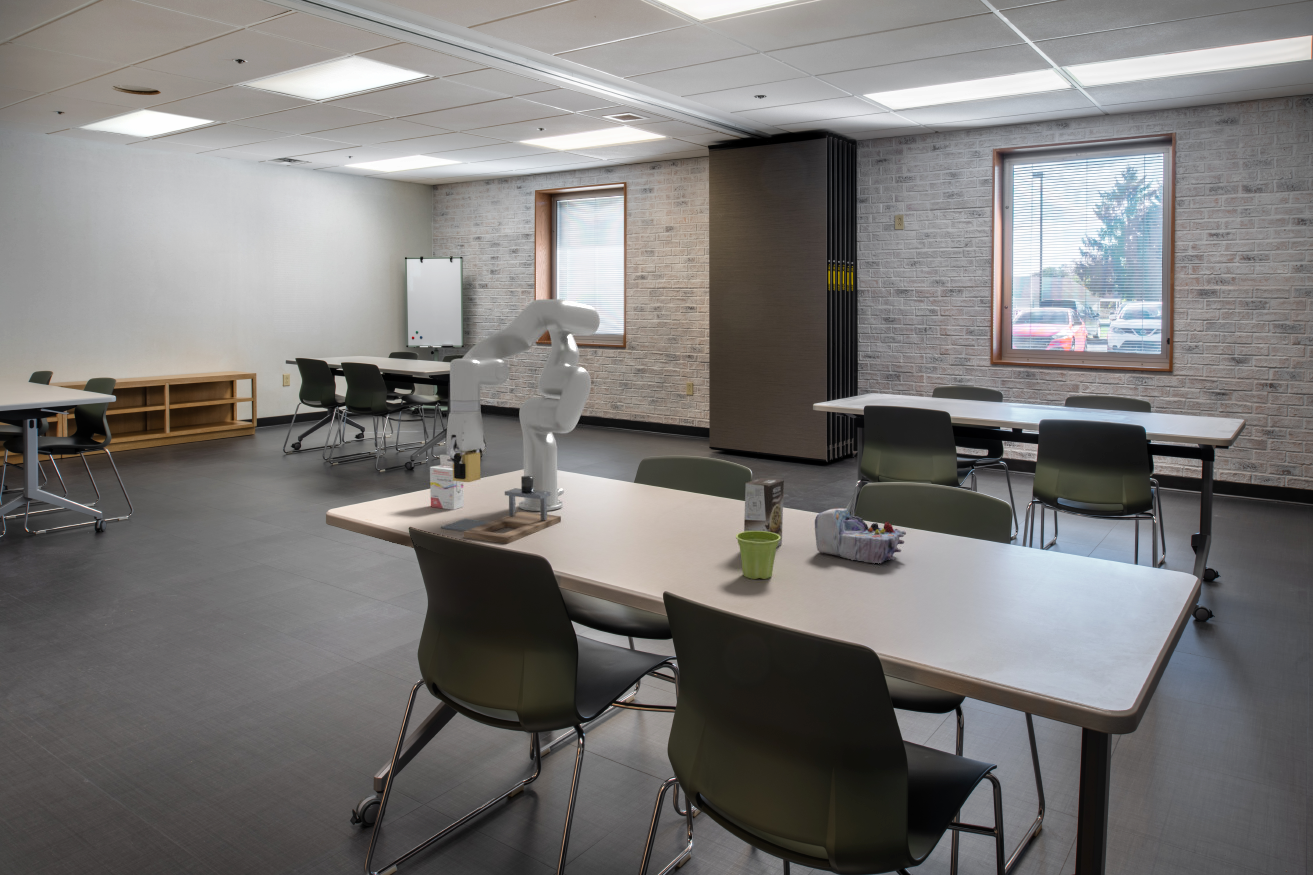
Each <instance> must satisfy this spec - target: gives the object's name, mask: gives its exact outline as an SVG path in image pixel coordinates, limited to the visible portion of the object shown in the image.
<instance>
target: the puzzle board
mask: <svg viewBox="0 0 1313 875" xmlns="http://www.w3.org/2000/svg"><path fill="white" fill-rule="evenodd" d="M488 522H489V523H486V524H483V525H481V526H478V527H475V528H472V529H470V530H467V531H462V532H463V538H464V539H471V540H477V541H478V540H479V541H485V542H493V543H501V544H510V543H513V542H515V541H518V540H520V539H522V538H525V537H528V536H530V535H532V534H534V533H536V532H540V531H542V530H545V529H547V528H549V527H551V526H553V525H557V524H559V523H561V522H562V516H560V515H554V514H547V520H541V513H536V512H527V511H517V512H516V516H509V515H507V516H506V515H505V516H503V517H500V518H498V519H495V520H492V521H488ZM503 528H510V529H512V530H510V531H506V532H504V533H499V532H495V531H498V530H501V529H503Z"/></svg>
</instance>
